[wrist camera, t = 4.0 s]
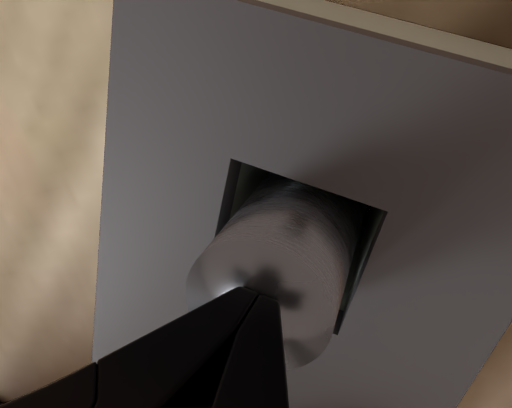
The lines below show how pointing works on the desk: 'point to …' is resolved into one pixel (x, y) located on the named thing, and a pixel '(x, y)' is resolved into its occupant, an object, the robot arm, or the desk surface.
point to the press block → (315, 179)
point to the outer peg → (285, 259)
